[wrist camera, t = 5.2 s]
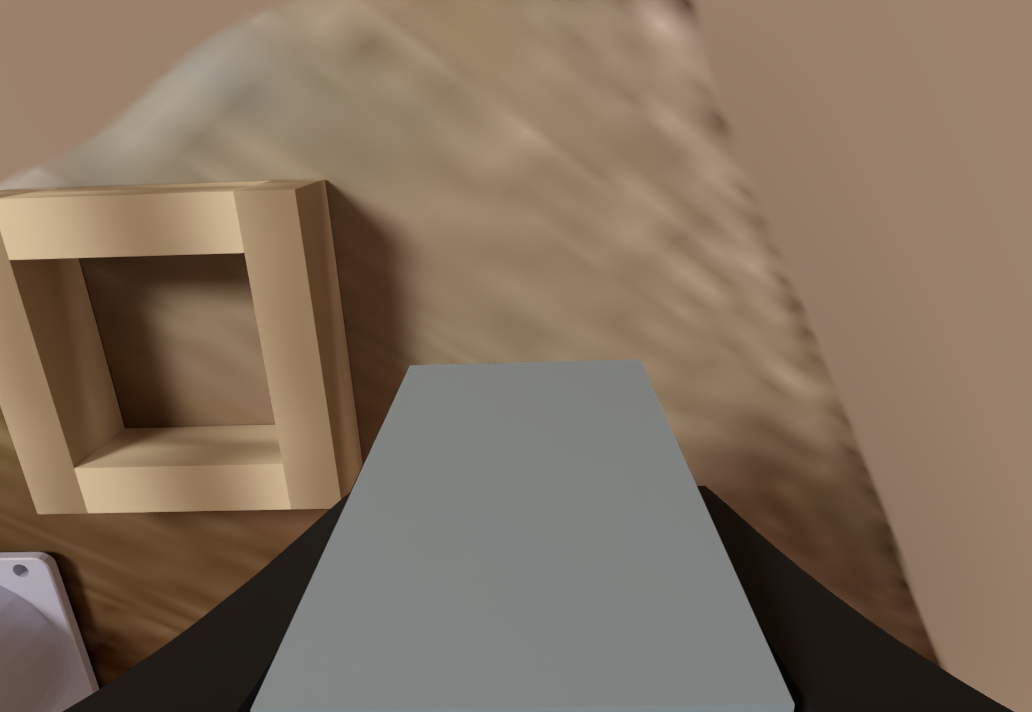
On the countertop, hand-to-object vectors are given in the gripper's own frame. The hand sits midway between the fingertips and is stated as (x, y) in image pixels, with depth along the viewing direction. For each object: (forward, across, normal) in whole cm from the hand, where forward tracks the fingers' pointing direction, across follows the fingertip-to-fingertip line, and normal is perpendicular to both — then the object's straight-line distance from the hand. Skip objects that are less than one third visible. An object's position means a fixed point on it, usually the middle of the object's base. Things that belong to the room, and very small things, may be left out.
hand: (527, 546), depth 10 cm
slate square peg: (+2, 0, 0) cm, 2 cm away
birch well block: (+10, +10, 0) cm, 14 cm away
